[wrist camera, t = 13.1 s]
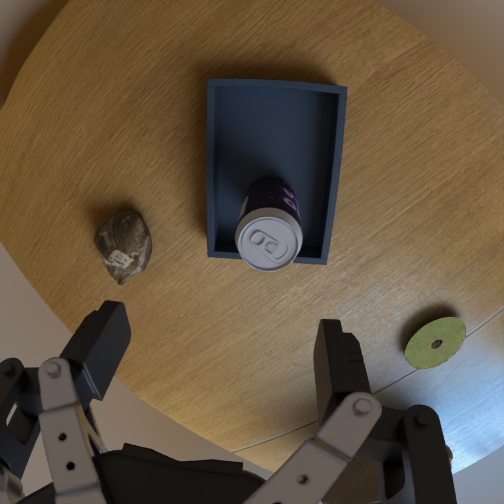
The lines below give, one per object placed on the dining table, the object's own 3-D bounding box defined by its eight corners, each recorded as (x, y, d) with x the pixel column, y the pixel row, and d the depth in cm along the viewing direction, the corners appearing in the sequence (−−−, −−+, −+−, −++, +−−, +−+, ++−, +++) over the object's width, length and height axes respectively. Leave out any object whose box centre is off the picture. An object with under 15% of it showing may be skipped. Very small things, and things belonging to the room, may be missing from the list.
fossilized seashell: (126, 293, 42) (176, 249, 40) (93, 295, 35) (147, 245, 33) (103, 249, 43) (150, 204, 41) (71, 245, 37) (120, 193, 35)
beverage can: (277, 230, 38) (277, 287, 27) (236, 205, 37) (219, 253, 26) (306, 192, 35) (318, 236, 25) (263, 164, 34) (257, 197, 24)
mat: (402, 368, 48) (404, 376, 47) (401, 321, 44) (404, 330, 42) (458, 349, 46) (462, 357, 44) (464, 301, 41) (469, 308, 40)
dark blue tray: (214, 80, 31) (207, 78, 28) (340, 88, 30) (347, 87, 27) (213, 243, 40) (207, 257, 37) (322, 250, 39) (326, 265, 36)
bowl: (353, 468, 68) (359, 532, 50) (299, 432, 58) (299, 517, 41) (448, 429, 59) (467, 494, 41) (422, 378, 49) (452, 469, 32)
